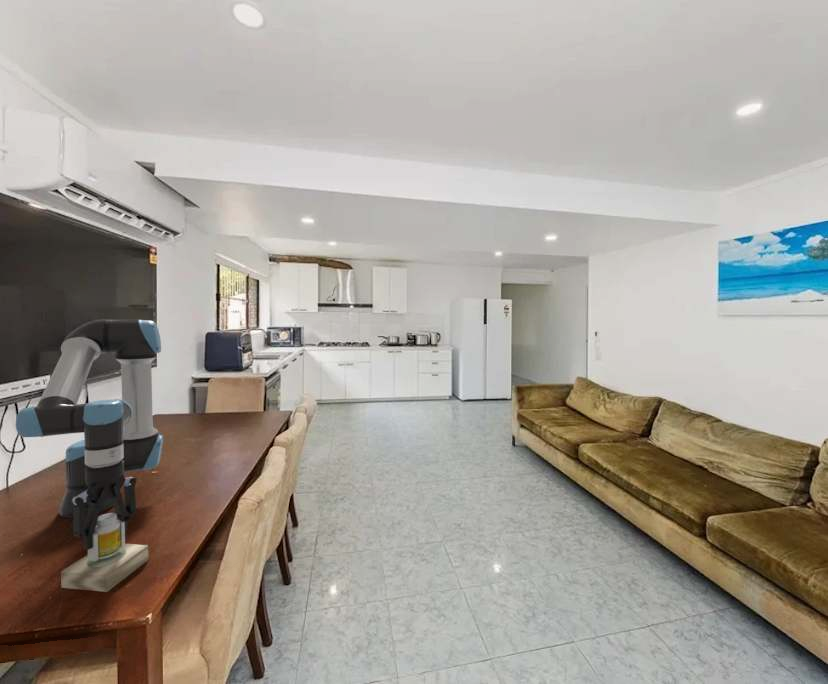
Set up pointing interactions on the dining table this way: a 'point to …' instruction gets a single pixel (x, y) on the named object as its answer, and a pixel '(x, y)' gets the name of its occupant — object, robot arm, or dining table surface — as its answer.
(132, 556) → the pedestal
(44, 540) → the dining table surface
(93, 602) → the dining table surface
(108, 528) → the supplement bottle
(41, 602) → the dining table surface
